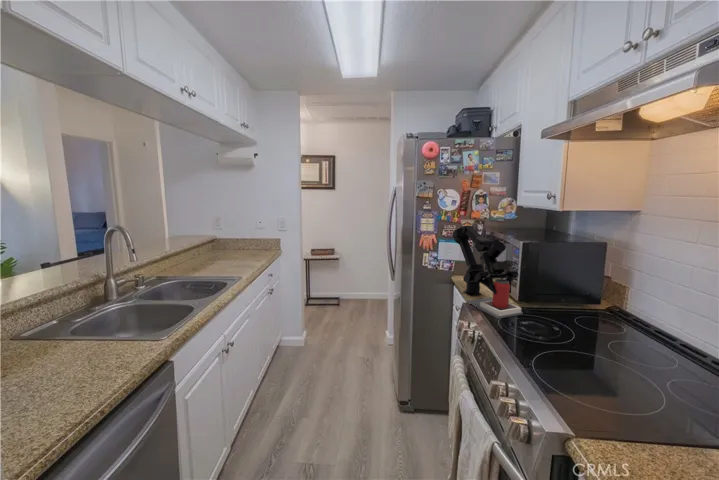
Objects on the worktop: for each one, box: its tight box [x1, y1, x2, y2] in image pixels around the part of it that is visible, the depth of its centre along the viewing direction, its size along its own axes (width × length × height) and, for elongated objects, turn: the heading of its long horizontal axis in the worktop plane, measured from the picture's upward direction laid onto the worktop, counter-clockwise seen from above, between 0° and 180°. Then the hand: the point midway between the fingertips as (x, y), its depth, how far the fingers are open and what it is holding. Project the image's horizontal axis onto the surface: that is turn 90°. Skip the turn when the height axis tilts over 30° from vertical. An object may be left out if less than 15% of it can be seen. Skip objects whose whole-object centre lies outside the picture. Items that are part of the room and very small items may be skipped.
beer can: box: [492, 278, 510, 309], centre depth 142 cm, size 7×7×12 cm
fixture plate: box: [465, 296, 524, 320], centre depth 146 cm, size 20×14×3 cm
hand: (503, 293), depth 140 cm, fingers closed on beer can, 7 cm apart
